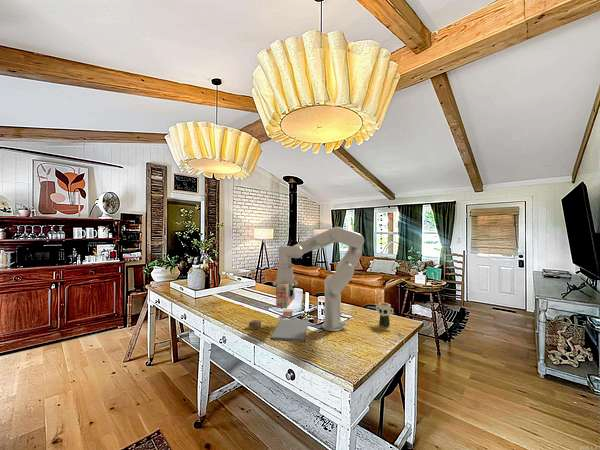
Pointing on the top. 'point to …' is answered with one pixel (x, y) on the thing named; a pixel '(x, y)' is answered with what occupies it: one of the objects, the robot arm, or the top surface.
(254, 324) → the walnut brick
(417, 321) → the top surface
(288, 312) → the terracotta brick
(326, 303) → the robot arm
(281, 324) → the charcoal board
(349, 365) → the top surface
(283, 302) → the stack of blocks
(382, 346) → the top surface
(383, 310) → the beige and green figurine
